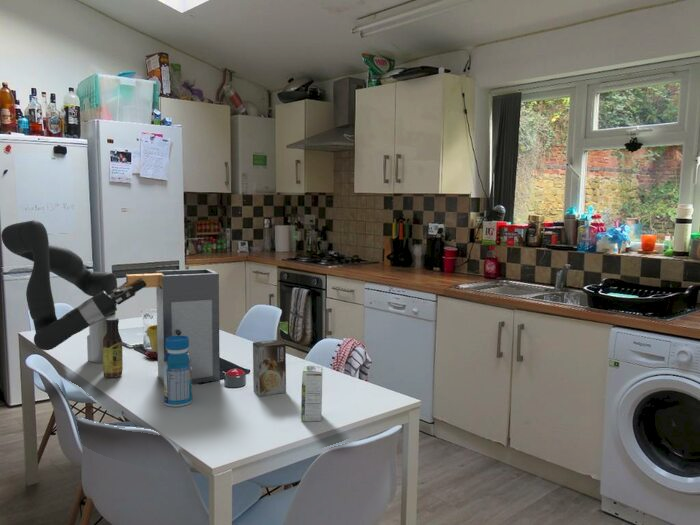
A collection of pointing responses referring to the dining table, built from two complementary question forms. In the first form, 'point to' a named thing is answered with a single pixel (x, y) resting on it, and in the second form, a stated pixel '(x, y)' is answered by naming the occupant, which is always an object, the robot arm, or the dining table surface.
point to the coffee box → (269, 367)
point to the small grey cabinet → (190, 319)
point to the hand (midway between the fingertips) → (143, 280)
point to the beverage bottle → (177, 372)
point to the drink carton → (311, 393)
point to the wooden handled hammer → (146, 279)
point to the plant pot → (153, 337)
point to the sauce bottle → (112, 350)
